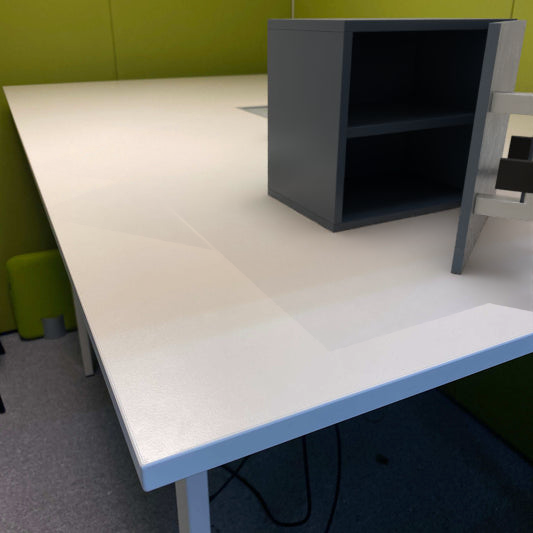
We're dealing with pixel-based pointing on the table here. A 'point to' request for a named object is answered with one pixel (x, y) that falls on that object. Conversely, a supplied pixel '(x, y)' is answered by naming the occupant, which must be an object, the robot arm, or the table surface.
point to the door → (493, 139)
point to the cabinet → (372, 115)
